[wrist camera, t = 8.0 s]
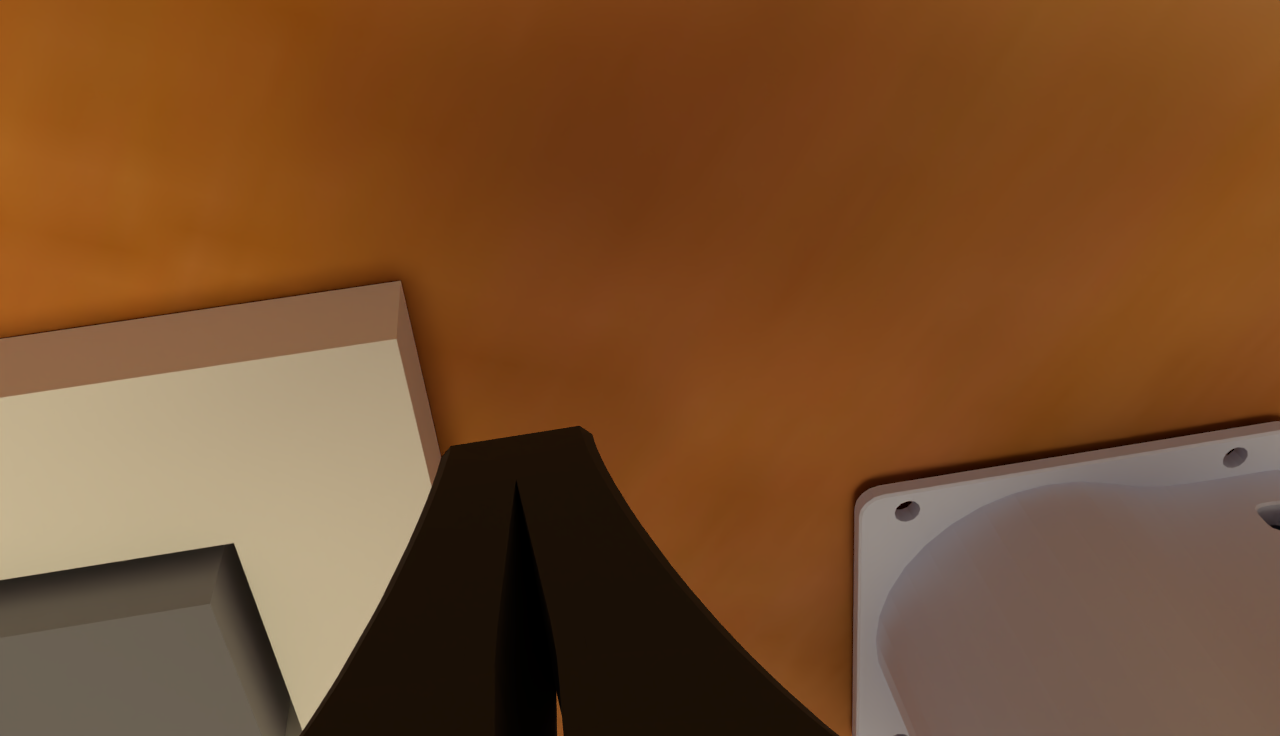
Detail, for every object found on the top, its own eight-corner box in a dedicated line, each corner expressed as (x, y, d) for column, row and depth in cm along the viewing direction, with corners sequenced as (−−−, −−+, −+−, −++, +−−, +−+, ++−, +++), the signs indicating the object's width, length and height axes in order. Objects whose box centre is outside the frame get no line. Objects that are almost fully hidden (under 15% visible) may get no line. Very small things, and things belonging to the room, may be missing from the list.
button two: (237, 492, 22) (209, 604, 19) (296, 659, 24) (278, 777, 22) (-5, 530, 21) (-65, 648, 19) (79, 695, 24) (35, 819, 21)
